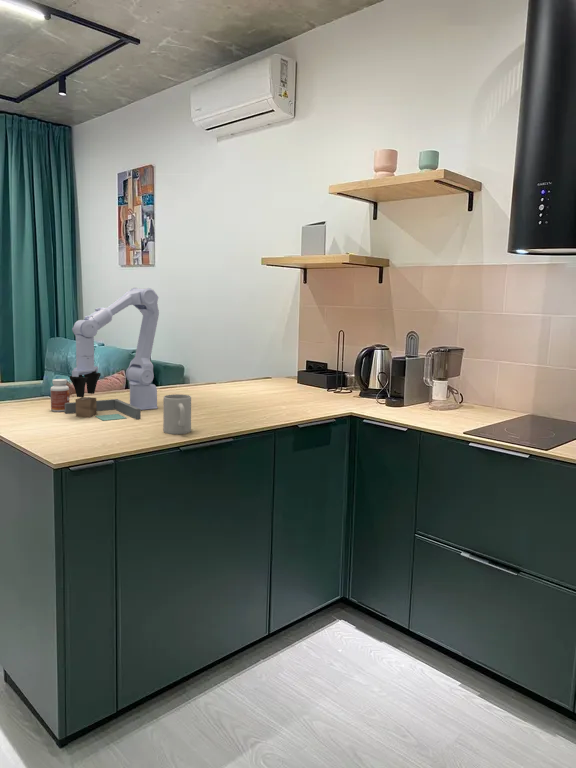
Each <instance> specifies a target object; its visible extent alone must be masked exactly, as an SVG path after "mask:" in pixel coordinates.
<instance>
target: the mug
mask: <svg viewBox="0 0 576 768" xmlns="http://www.w3.org/2000/svg"><path fill="white" fill-rule="evenodd" d="M162 401H163V411H162V412H163V413H162V414H163V422H162V423H163V425H162V426H163V428H162V430H163V433H165V434H169V435H185V434H189V433H191V432H192V396H191V395H188V394H179V393H177V394H176V393H175V394H166V395H164V396H163V400H162Z"/></svg>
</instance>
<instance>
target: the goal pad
mask: <svg viewBox="0 0 576 768" xmlns="http://www.w3.org/2000/svg"><path fill="white" fill-rule="evenodd" d="M94 417H95V418H97V419H99V420H101V421H103V422H105V421H115V420H125V419H127V417H125V416H124V415H121V414H120V413H115V414H114V413H113V414H111V413H110V414H101V415H95V416H94Z"/></svg>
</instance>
